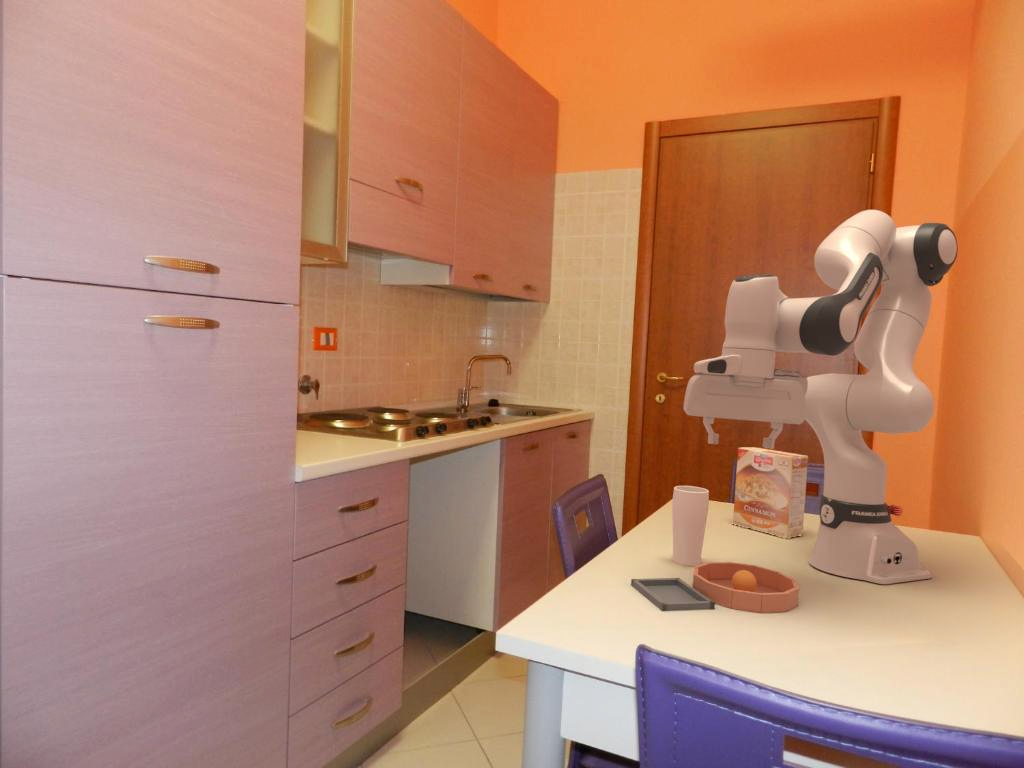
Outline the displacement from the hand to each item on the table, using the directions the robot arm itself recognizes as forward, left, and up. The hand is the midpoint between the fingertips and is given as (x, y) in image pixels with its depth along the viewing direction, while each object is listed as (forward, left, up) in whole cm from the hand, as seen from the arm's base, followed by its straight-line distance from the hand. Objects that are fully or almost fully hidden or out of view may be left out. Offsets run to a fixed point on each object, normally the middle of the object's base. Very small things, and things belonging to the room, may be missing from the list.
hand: (740, 446), depth 118 cm
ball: (0, +4, -25) cm, 25 cm away
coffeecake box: (-34, -39, -26) cm, 58 cm away
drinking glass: (+1, -14, -26) cm, 29 cm away
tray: (+13, +4, -25) cm, 29 cm away
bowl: (0, +4, -25) cm, 26 cm away
